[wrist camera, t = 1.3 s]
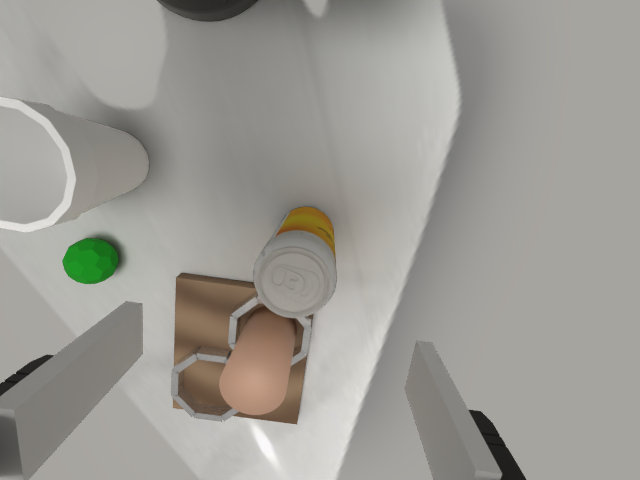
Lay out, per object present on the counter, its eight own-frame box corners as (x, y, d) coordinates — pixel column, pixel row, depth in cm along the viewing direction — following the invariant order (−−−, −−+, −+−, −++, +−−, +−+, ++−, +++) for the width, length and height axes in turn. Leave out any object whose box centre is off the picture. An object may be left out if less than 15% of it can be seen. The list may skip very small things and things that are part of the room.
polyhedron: (130, 273, 39) (104, 289, 35) (90, 275, 40) (58, 291, 35) (121, 232, 38) (93, 244, 33) (79, 234, 38) (45, 246, 34)
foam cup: (143, 103, 34) (36, 77, 22) (176, 190, 37) (98, 211, 24) (61, 130, 35) (-86, 119, 23) (99, 213, 37) (-16, 245, 25)
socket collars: (179, 279, 38) (173, 284, 36) (315, 298, 38) (314, 304, 36) (176, 405, 42) (170, 414, 41) (297, 421, 43) (296, 431, 41)
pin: (248, 302, 38) (221, 353, 29) (299, 309, 38) (290, 362, 29) (244, 347, 40) (217, 410, 30) (293, 353, 40) (282, 419, 30)
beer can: (321, 265, 38) (316, 335, 24) (272, 245, 38) (237, 304, 24) (342, 218, 37) (351, 262, 22) (291, 196, 36) (267, 227, 22)
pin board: (181, 272, 39) (176, 277, 38) (316, 291, 39) (315, 296, 38) (178, 399, 44) (172, 407, 42) (298, 415, 44) (297, 424, 43)
